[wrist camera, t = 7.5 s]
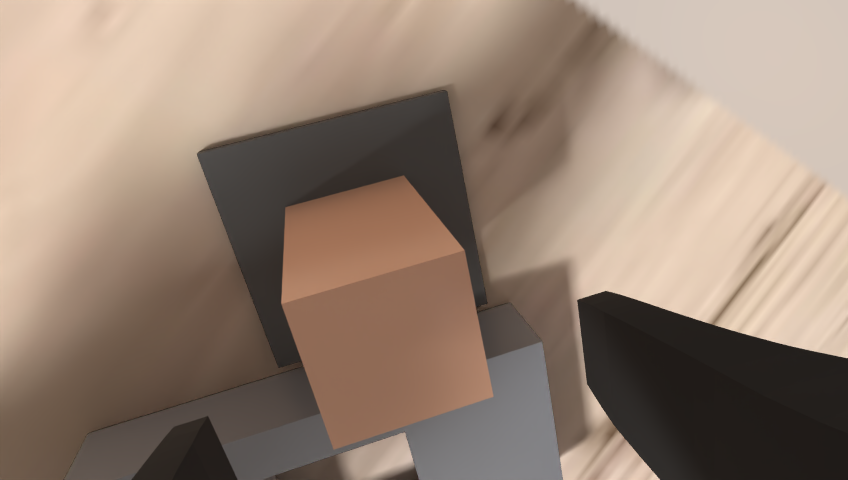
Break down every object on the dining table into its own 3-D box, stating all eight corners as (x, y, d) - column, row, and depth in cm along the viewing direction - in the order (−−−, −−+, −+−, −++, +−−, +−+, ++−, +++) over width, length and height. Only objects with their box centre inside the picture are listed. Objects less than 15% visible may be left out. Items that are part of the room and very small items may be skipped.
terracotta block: (403, 175, 18) (464, 250, 12) (428, 279, 20) (493, 396, 13) (285, 206, 18) (281, 304, 11) (319, 312, 19) (333, 449, 13)
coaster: (443, 90, 18) (446, 90, 17) (483, 298, 21) (487, 303, 20) (198, 151, 17) (196, 154, 16) (279, 361, 20) (278, 367, 19)
